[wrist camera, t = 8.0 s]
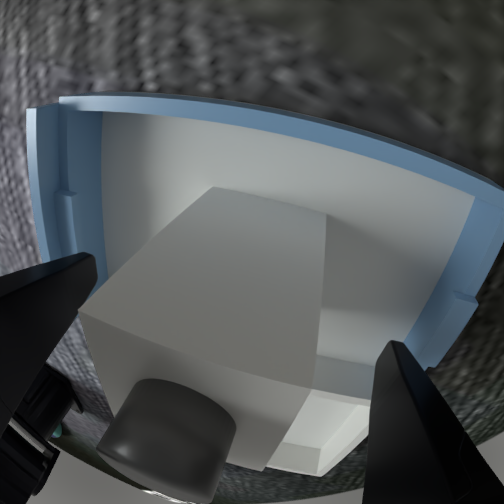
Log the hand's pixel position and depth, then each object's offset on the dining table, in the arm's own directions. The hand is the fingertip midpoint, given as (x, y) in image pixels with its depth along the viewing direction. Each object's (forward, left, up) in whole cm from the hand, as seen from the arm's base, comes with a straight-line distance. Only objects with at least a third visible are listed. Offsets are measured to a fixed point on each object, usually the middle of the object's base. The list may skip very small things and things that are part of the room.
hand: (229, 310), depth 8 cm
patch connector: (0, 0, -4) cm, 4 cm away
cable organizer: (-5, 0, -4) cm, 6 cm away
